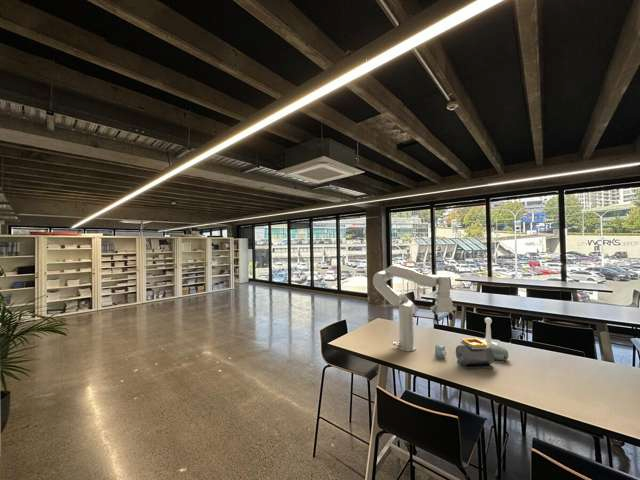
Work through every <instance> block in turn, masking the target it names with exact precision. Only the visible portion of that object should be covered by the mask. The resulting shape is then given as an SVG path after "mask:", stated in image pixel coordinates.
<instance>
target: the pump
mask: <svg viewBox="0 0 640 480" xmlns="http://www.w3.org/2000/svg"><path fill="white" fill-rule="evenodd" d="M446 355H447V351H446V345H443V344H440V343H439V344H438V343H437V344H435V345H434V357H435V358H438V359H446Z"/></svg>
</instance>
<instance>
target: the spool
mask: <svg viewBox="0 0 640 480" xmlns="http://www.w3.org/2000/svg"><path fill="white" fill-rule="evenodd" d="M488 346H489V347H490V348H491V349H492V351H493V353H494V360H497V361H507V360H508V359H509V352H508V350H507V349H506V348H505V347H503V346H499V345H498V346H496V345H488Z"/></svg>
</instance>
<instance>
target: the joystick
mask: <svg viewBox="0 0 640 480" xmlns="http://www.w3.org/2000/svg"><path fill="white" fill-rule="evenodd" d="M492 322H493V320H492V318H491V317H485V318H484V323H486V324H485V325H486V328H485V339H479V340H480V341H482V342H484V343H486V344H487V345H496V346H499V344H498V342H494V341H492V329H491V324H492Z"/></svg>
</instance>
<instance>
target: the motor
mask: <svg viewBox="0 0 640 480" xmlns="http://www.w3.org/2000/svg"><path fill="white" fill-rule="evenodd" d="M480 340H481V339H479V338H476V337H475V338H462V339H461V340H460V341H459V342H460V344H461V345H457V346H456V347H455V355H456V363H457V364H459V365H460V366H461V367H462V368H465V370H467V371H469V370H470V371H471V370H489V369H491V370H493V369H494V366H493V365H492V364H493V363H494V361H495V359H494V353H493V351H492V349H491V348H490V347H489V346H488V345H487V344H486V343H484V342H482V341H480Z"/></svg>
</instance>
